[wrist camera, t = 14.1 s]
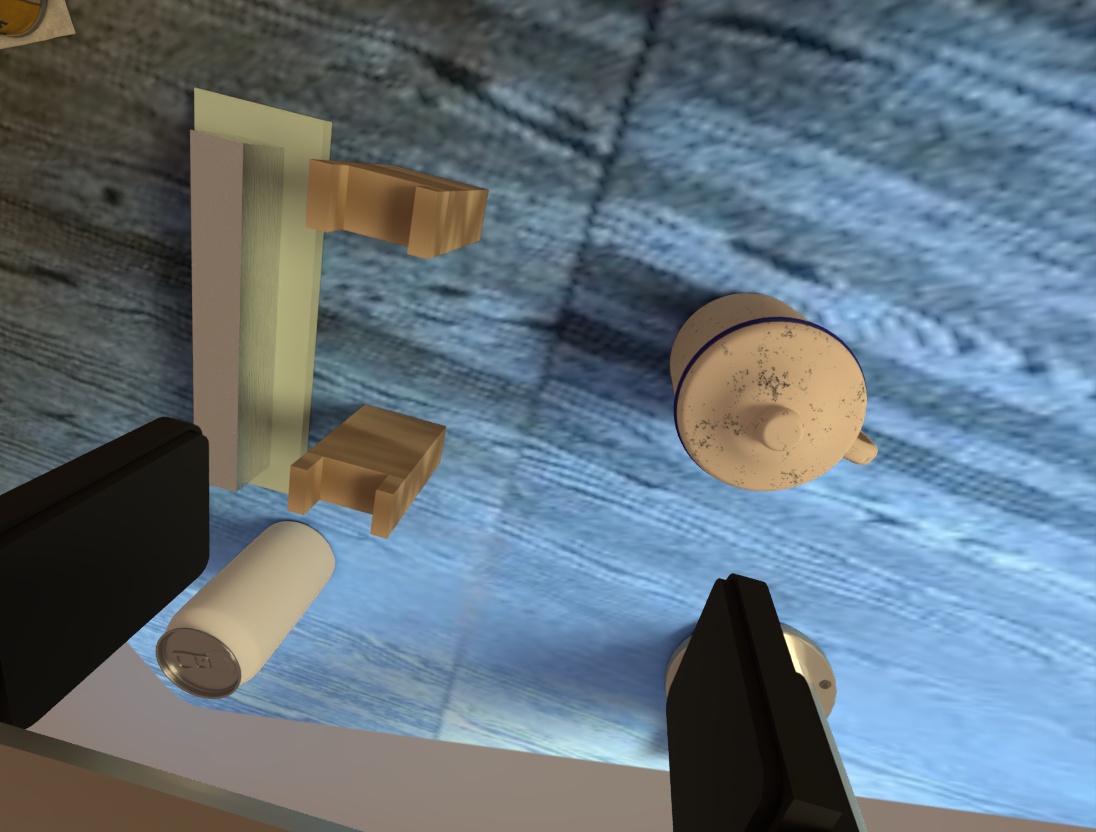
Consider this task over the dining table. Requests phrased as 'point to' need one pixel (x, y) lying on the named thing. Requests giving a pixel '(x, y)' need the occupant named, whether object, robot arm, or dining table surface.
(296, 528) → the can
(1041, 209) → the dining table surface
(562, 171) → the dining table surface
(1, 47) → the condiment
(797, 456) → the teacup with lid
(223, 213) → the rail
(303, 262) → the mat
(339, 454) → the post
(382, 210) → the post
